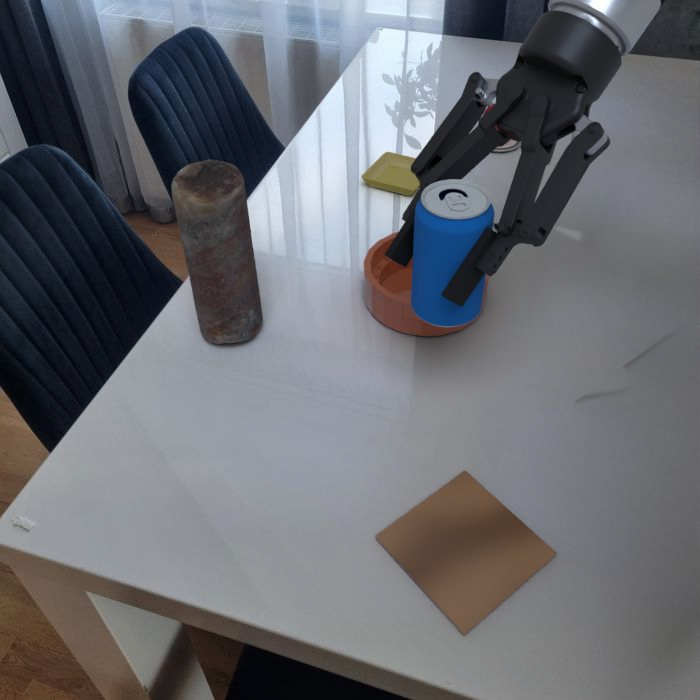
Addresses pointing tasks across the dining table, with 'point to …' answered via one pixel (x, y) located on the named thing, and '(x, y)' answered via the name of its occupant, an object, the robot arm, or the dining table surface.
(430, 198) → the beverage can
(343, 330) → the dining table surface
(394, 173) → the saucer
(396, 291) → the bowl
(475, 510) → the cork mat
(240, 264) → the stone cylinder
